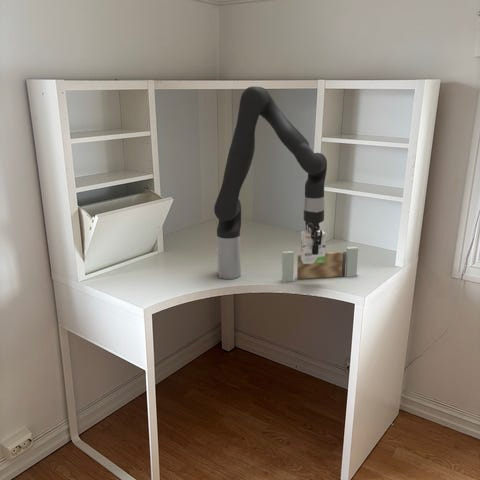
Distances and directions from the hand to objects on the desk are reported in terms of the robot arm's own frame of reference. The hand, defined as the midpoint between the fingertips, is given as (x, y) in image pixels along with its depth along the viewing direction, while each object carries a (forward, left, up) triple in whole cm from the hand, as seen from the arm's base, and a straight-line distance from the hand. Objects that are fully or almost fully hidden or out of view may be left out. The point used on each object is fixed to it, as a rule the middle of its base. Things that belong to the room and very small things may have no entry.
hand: (312, 251), depth 186 cm
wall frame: (+5, +6, -14) cm, 16 cm away
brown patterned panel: (+6, +7, -14) cm, 17 cm away
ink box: (0, 0, -4) cm, 4 cm away
